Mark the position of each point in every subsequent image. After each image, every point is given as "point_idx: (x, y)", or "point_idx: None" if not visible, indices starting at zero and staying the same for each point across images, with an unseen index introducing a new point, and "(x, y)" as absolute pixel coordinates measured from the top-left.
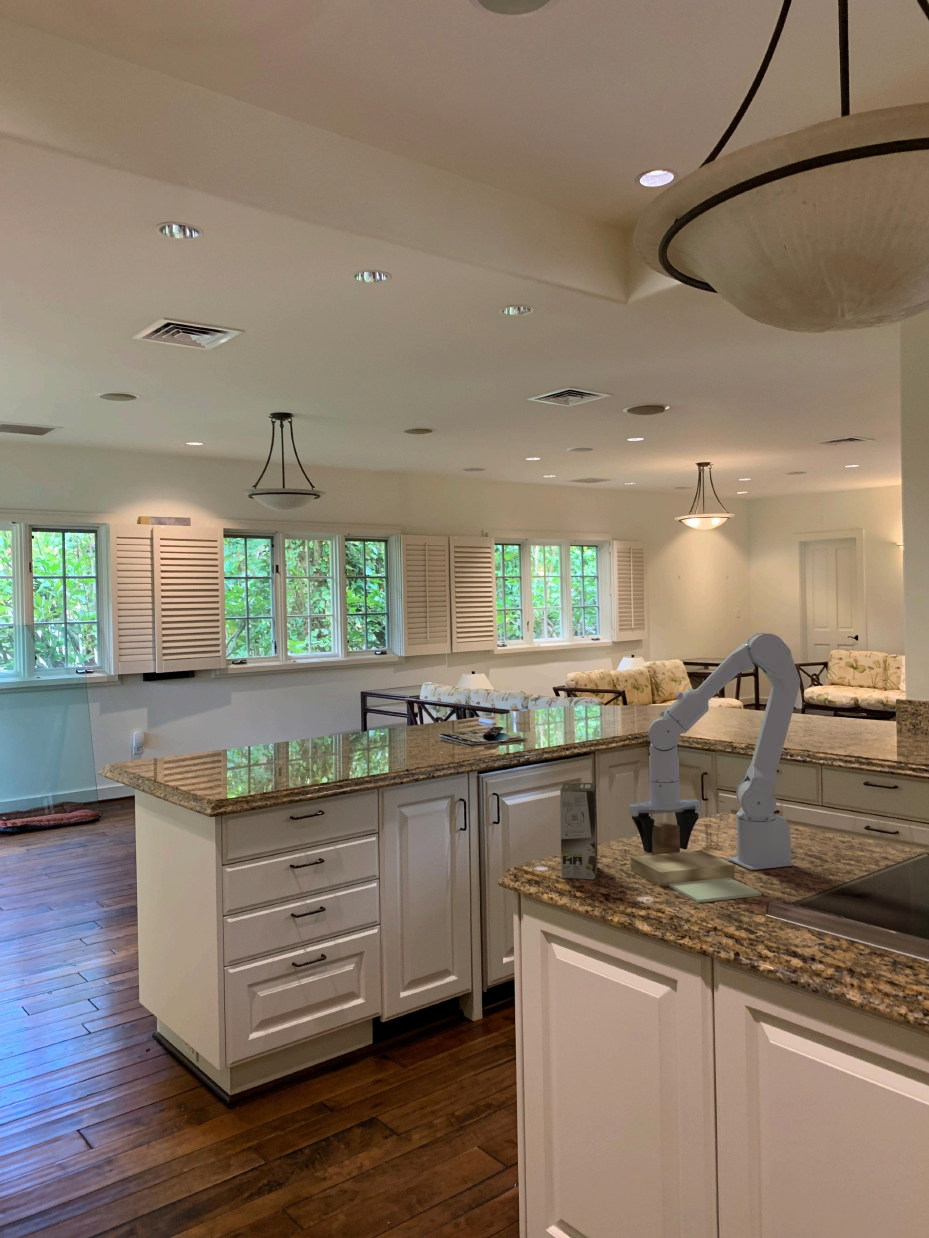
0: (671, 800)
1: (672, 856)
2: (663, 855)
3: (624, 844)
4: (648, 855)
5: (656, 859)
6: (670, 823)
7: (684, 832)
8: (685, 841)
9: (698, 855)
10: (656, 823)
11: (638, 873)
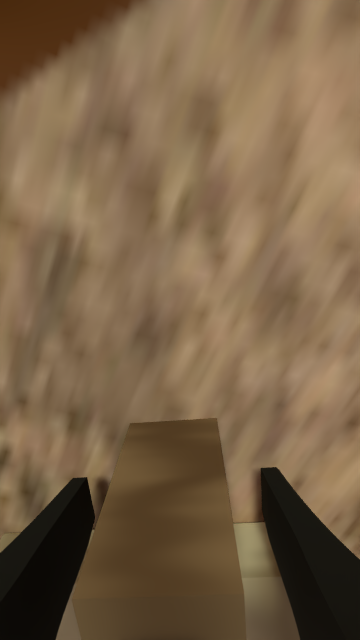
0: None
1: None
2: None
3: (92, 130)
4: None
5: (62, 636)
6: (225, 638)
7: (295, 601)
8: (276, 557)
9: (253, 632)
10: (115, 612)
11: None
